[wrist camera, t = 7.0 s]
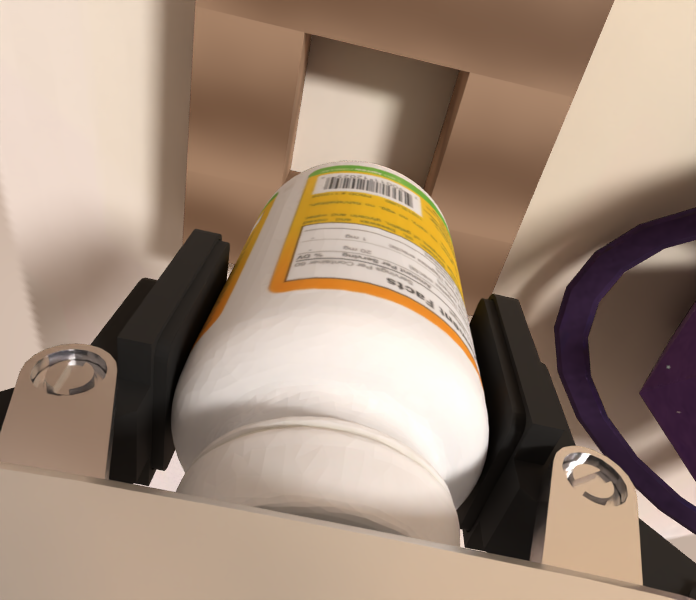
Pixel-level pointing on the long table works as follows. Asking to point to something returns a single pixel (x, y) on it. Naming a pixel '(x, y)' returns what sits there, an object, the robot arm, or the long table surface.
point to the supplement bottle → (339, 363)
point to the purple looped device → (663, 382)
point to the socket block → (405, 40)
